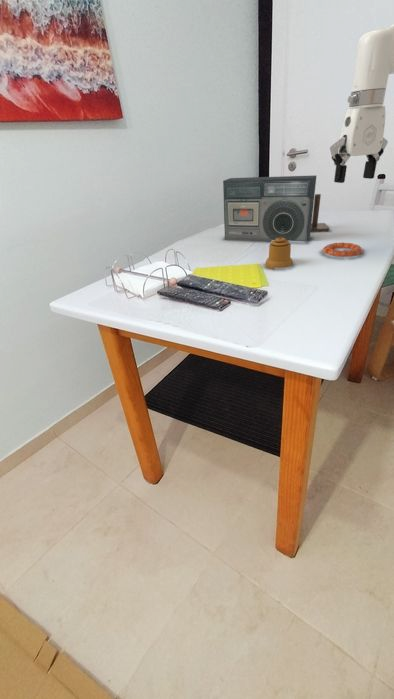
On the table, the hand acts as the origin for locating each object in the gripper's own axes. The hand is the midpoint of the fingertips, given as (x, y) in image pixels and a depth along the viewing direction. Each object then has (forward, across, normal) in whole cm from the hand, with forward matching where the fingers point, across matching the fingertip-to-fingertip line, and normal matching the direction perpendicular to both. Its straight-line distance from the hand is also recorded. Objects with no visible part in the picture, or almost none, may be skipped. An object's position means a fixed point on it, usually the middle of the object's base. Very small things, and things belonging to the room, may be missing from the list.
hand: (353, 180), depth 89 cm
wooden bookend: (+20, +13, +30) cm, 38 cm away
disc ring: (+19, +1, +1) cm, 19 cm away
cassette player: (+20, -9, +28) cm, 36 cm away
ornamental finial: (+20, -21, +2) cm, 29 cm away
